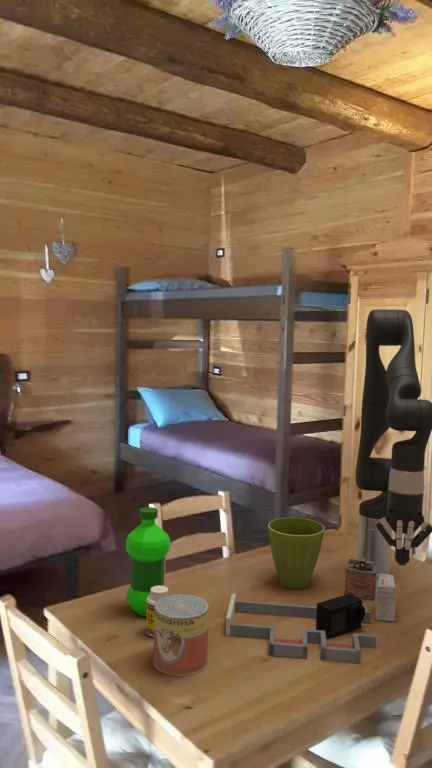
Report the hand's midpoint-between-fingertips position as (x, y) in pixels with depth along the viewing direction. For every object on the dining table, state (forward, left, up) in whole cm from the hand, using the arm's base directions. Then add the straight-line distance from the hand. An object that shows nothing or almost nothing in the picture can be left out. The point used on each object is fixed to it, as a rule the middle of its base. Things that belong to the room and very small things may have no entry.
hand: (401, 563), depth 146 cm
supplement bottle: (+8, -54, -17) cm, 57 cm away
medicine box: (-11, -2, -17) cm, 21 cm away
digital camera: (0, -13, -17) cm, 21 cm away
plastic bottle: (-2, -58, -17) cm, 61 cm away
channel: (+4, -22, -17) cm, 28 cm away
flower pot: (-25, -24, -17) cm, 38 cm away
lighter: (-20, -6, -17) cm, 27 cm away
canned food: (+19, -46, -17) cm, 53 cm away
